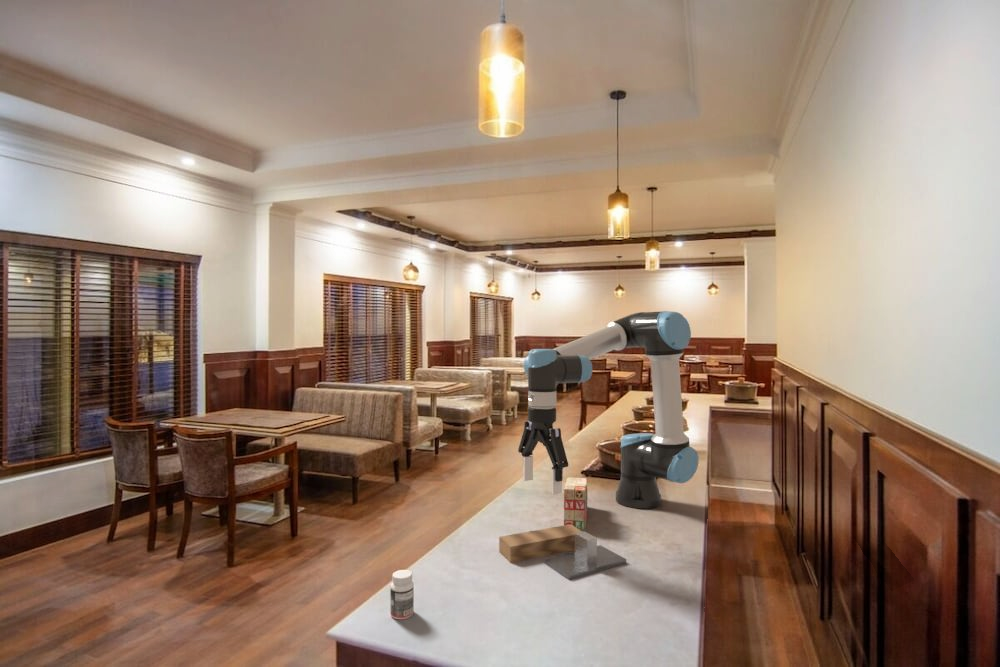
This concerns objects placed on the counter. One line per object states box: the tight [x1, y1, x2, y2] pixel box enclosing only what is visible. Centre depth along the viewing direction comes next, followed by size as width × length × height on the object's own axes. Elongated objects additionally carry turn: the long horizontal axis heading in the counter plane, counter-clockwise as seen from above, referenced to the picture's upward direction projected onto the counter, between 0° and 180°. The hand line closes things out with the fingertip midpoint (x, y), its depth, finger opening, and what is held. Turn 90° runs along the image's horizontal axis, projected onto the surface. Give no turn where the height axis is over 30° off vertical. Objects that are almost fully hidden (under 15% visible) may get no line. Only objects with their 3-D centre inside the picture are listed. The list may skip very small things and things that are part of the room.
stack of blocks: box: [563, 476, 588, 532], centre depth 165 cm, size 21×6×12 cm, turn 169°
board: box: [498, 524, 583, 564], centre depth 141 cm, size 22×7×4 cm, turn 114°
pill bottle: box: [389, 569, 415, 620], centre depth 109 cm, size 5×5×8 cm
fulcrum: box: [544, 530, 627, 581], centre depth 133 cm, size 18×10×7 cm, turn 119°
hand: (541, 486), depth 141 cm, fingers open, 13 cm apart
